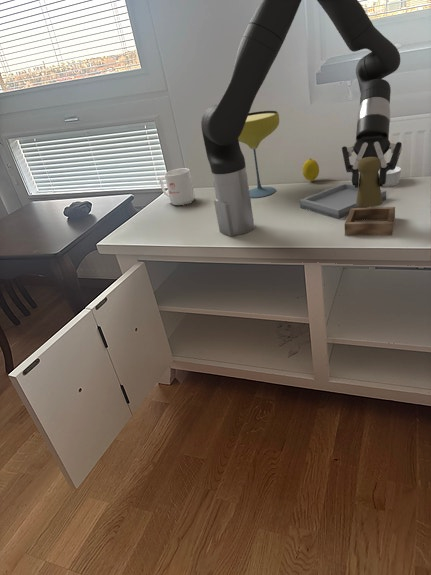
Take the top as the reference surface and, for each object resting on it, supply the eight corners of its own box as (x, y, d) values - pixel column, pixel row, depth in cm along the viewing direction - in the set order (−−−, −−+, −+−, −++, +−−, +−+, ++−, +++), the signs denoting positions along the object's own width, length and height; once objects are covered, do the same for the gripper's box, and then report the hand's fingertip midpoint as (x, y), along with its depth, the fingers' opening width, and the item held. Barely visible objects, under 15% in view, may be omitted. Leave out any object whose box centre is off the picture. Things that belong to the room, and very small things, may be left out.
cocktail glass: (273, 202, 138) (263, 120, 126) (225, 201, 147) (211, 125, 136) (294, 183, 151) (287, 108, 139) (248, 184, 160) (238, 113, 148)
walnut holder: (344, 235, 107) (344, 224, 105) (351, 218, 115) (350, 208, 114) (391, 235, 102) (392, 223, 101) (394, 217, 111) (395, 206, 109)
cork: (364, 209, 103) (364, 163, 98) (351, 202, 108) (350, 158, 103) (387, 203, 104) (388, 157, 99) (372, 197, 109) (373, 152, 104)
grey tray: (338, 219, 116) (338, 210, 115) (300, 207, 129) (299, 199, 128) (386, 199, 123) (386, 190, 122) (345, 190, 136) (344, 182, 135)
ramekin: (374, 179, 140) (374, 165, 138) (403, 178, 136) (403, 165, 134) (367, 188, 134) (367, 174, 132) (397, 188, 130) (397, 173, 127)
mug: (199, 197, 157) (193, 167, 152) (188, 206, 150) (181, 175, 145) (171, 198, 162) (164, 169, 157) (159, 207, 155) (152, 177, 150)
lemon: (318, 178, 152) (317, 155, 148) (320, 182, 147) (319, 159, 143) (302, 180, 153) (301, 157, 149) (304, 185, 148) (302, 161, 144)
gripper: (341, 116, 105) (335, 179, 102) (405, 109, 100) (401, 176, 96) (344, 133, 112) (339, 194, 108) (404, 128, 106) (401, 191, 103)
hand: (368, 185), depth 102 cm, fingers closed on cork, 5 cm apart
